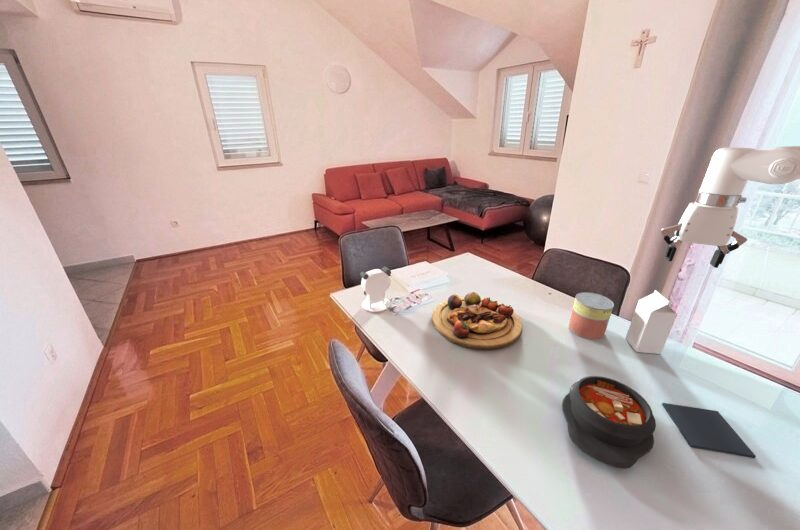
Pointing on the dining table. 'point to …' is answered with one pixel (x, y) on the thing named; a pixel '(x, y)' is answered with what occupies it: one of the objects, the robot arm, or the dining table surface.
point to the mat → (707, 430)
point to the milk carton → (651, 324)
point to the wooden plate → (477, 322)
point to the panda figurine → (375, 289)
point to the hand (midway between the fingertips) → (690, 262)
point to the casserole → (609, 421)
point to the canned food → (590, 315)
